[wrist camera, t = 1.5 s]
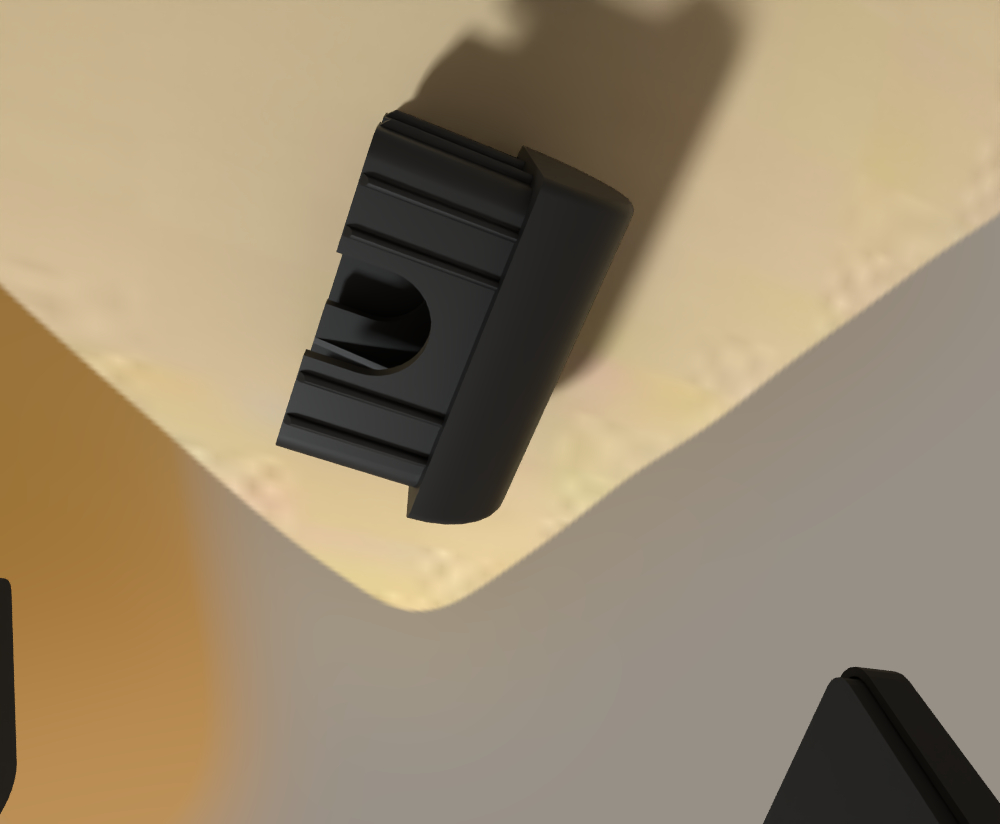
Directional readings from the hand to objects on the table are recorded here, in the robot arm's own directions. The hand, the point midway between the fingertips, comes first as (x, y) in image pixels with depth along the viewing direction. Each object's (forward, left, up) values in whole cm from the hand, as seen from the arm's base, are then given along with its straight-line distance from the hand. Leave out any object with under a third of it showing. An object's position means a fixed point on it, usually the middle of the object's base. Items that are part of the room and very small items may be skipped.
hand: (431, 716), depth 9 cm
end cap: (0, 0, -20) cm, 20 cm away
